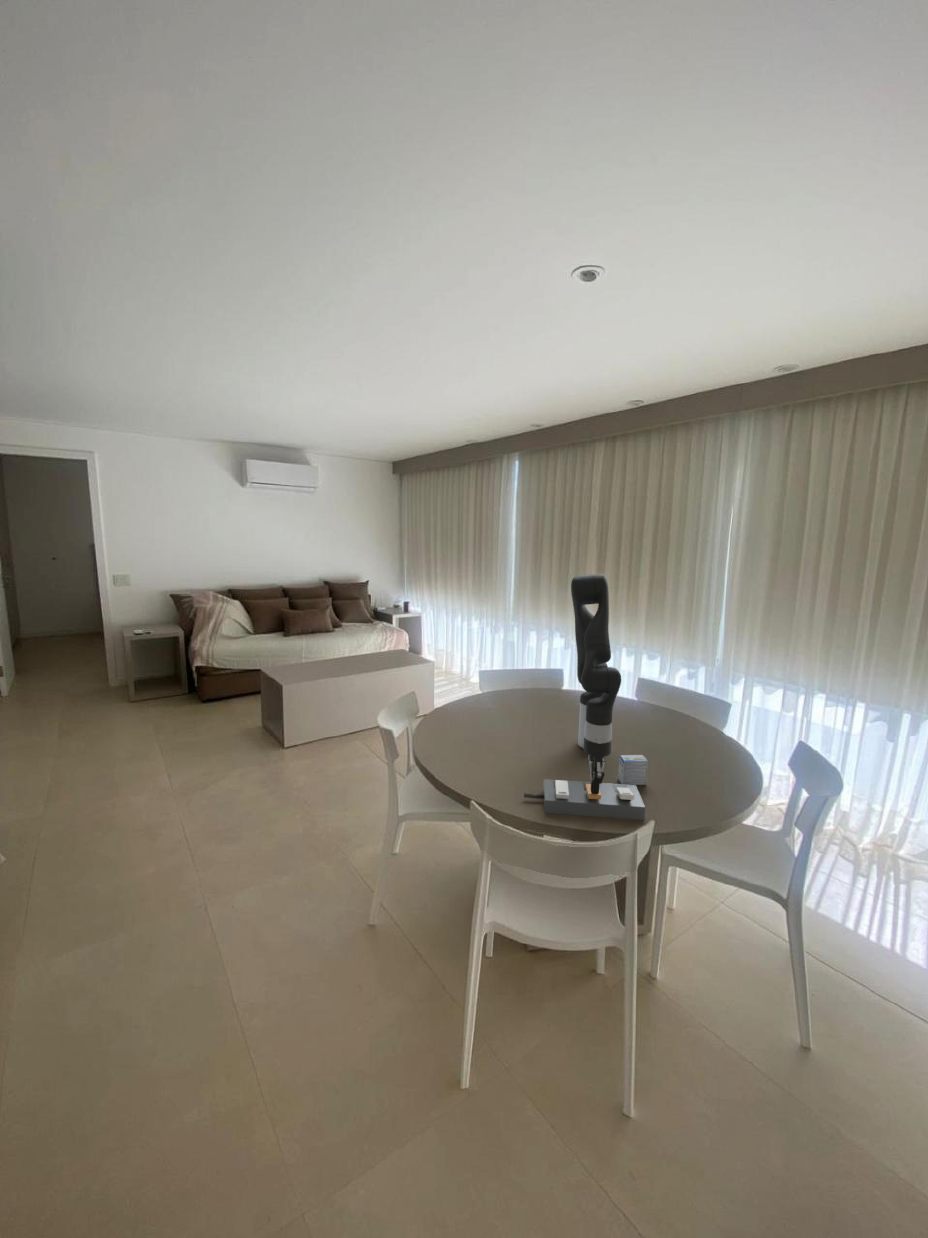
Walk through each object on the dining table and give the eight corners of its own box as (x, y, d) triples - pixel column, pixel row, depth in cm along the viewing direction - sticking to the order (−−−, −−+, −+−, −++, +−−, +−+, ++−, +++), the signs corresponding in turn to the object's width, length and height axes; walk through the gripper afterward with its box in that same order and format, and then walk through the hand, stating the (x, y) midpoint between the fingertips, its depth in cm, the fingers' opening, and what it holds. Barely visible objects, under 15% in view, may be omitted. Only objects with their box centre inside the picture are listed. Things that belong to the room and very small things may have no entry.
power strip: (524, 789, 152) (524, 776, 151) (634, 797, 148) (635, 783, 147) (523, 811, 140) (524, 796, 140) (644, 820, 136) (645, 805, 135)
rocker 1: (555, 783, 145) (555, 779, 144) (567, 784, 144) (567, 780, 144) (556, 798, 139) (556, 794, 139) (568, 799, 139) (569, 795, 138)
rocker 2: (585, 788, 144) (585, 783, 143) (597, 788, 143) (598, 784, 143) (588, 798, 138) (588, 793, 137) (600, 799, 137) (601, 794, 137)
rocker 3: (616, 792, 142) (616, 787, 142) (629, 792, 142) (629, 787, 142) (620, 799, 136) (620, 793, 136) (633, 800, 136) (633, 794, 136)
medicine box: (641, 778, 159) (643, 754, 157) (646, 785, 154) (648, 760, 153) (617, 779, 159) (619, 754, 157) (622, 786, 154) (624, 761, 153)
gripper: (581, 726, 141) (578, 780, 144) (587, 745, 128) (584, 804, 132) (607, 727, 140) (604, 781, 144) (615, 747, 127) (612, 806, 131)
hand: (594, 792), depth 138 cm, fingers closed
